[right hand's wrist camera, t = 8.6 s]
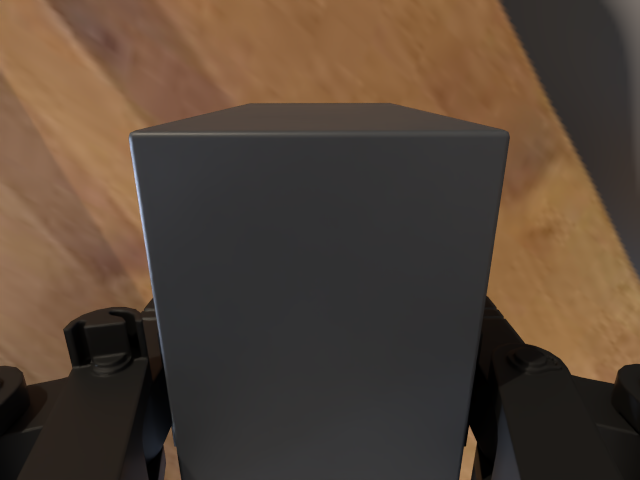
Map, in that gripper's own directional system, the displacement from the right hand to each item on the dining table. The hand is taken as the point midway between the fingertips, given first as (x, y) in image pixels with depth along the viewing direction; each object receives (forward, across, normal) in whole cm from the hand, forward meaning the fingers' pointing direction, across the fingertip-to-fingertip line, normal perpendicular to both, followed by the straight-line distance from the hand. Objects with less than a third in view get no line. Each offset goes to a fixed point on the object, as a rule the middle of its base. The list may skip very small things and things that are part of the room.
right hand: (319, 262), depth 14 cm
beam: (+1, 0, -21) cm, 21 cm away
